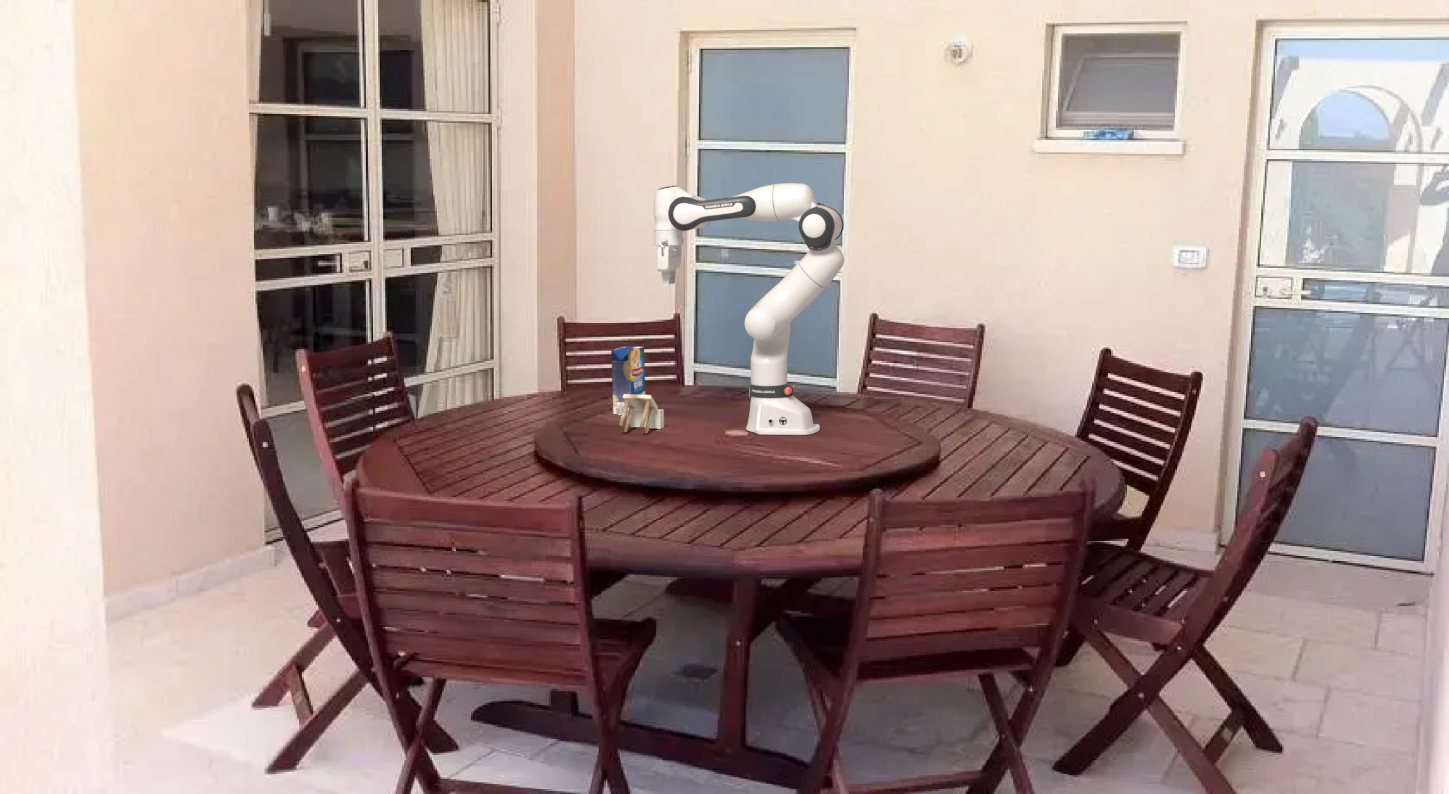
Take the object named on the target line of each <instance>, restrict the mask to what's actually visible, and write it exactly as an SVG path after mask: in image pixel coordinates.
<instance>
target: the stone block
mask: <svg viewBox="0 0 1449 794" xmlns="http://www.w3.org/2000/svg"><path fill="white" fill-rule="evenodd" d="M649 411H650V410H648V413H647V417H646V421H645V424H644V427H646V423H647V419H648V415H649ZM664 411H665V410H664V408H661V409H659V408H658V409H657V410H654V411H653V415H652V419H651V423H650V427H649V428H657V429H661V428H663V427H664V428H665V412H664ZM643 412H644V410H637V409H633V412H632V415H631V419H630V423H629V427H640V424H641V420H642V416H643Z"/></svg>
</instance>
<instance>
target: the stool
mask: <svg viewBox="0 0 1449 794" xmlns="http://www.w3.org/2000/svg"><path fill="white" fill-rule="evenodd" d="M623 399H624V400H625V404H624V408H623V412H622V416H621V418H620V420H619V424H618V426H619V427H624V428H623V430H622V431H623V433H624V432H627V433H628V431H629V427H630V419H631V415H632V412H633V409H637V410H644V412H643V416H642V420H641V424H640V427H644V424H645V421H646V417H647V413H648V410H650V411H649V415H648V419H647V423H646V427H645V430H644V432H643V434H645V433H648V434H649V431H650V430H649V427H650V423H651V419H652V415H653V411H654V410H657V409H659V407H658V406H659V405H658V404H657V402H656V400H655V399H654V397H653V395H651V394H645V395H635V394H624V395H623ZM628 407H629V411H628V415H627V418H625V416H626V412H627V408H628ZM624 423H625V424H624Z"/></svg>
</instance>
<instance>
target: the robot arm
mask: <svg viewBox="0 0 1449 794" xmlns="http://www.w3.org/2000/svg"><path fill="white" fill-rule="evenodd" d="M653 219H654V227H653V239H654V240H653V245H654V246H657V247H658V248H657V252H656V253H657V254H656V255H657V256H656V260H657V261H656V270H657V272H659V273H660V272H661V278H662V286H663V287H668V286H670V284H671V285H673V284H676V275H677V269H680V267H681V264H682V250H683V249H682V247H683V245H684V234H683V233H684V232H687V231H692V230H696V229H702V228H704V227H706V226H707V225H709V224H710V223H711V222H715V221H724V220H746V221H753V222H762V223H764V222H765V223H771V222H772V223H773V222H774V223H775V222H784V221H796V222H798V230H799V231H798V232H799V233H800V236H801V238H802V239H803V241H804V243H805V245H806V247H807V248H808V249H809V250H808V251H807V253H806V254H805V255H804V256H803V257H802V258H801V259H800V260H799V261H798V262H797V263H796V265H795V266H794V267H793V268H792V269H791V270H790V271H789V272H788V273H787V274H786V275H784V277H783V278H782V279H781V280H780V281H779V282H778V283H777V284H776V285H774V287H772V288H771V289H770V290H769V291H768V292H767V293H766V294H765V295H764V296H763V297H762V298H760V300H759V301H758V302H756V304H754V305H753V306H752V307H751V309H749V310H748V312H747V314H746V315H745V319H744V328H745V330H746V331H745V332H746V333H747V334H748V335H749V336H750V337H751V338H753V339H754V340H753V344H752V345H753V346H752V353H751V356H750V383H749V388H748V393H749V394H748V396H749V402H750V403H749V404H750V405H749V414H748V420H747V424H746V427H745V430H746V431H748V432H752V433H756V435H772V436H773V435H776V436H777V435H781V436H782V435H784V436H785V435H786V436H788V435H789V436H791V435H792V436H806V435H813V434H816V433H818V432H819V431H820V429H821V426H820V424H818V423H814V420H813V415H812V410H811V409H810V408H809V407H808V406H807V405H806V404H804V403H803V402H802V401H800V399H798V398H796V396H794V390H795V385H791V384H790V383H788V352H789V351H788V350H789V343H790V335H791V323H792V321H793V320H794V319H795V318H797V317H798V315H800V314H801V313H802V312H803V311H804V310H805V309H806V308H807V307H808V306H810V304H811V303H812V302H813V301H814V300H815V299H816V298H818V296H819V295H820V294H822V292H823V291H824V290H825V289H826V288H827V287H828V286H829V285H830V284H831V282H832V281H833V280H834V279H835V277H837V275H838V273H839V272H840V271H841V269H842V267H844V264H845V257H844V254H843V252H842V250H841V248H839V247H838V245H837V243H836V240H838V239H839V238H840V236H842V233H843V230H844V226H845V225H844V220H843V216H842V215H841V214H840V213H839V211H837V210H836V209H834V208H832V207H831V206H829V205H825V204H823V203H821V202H816V198H815V193H814V192H813V189H812V188H811V187H810V186H809V185H808V184H806V183H799V182H787V183H783V182H782V183H774V184H768V185H767V184H766V185H763V186H760V187H756V188H753V189H751V190H748V191H746V192H743V193H740V194H737V195H733V196H729V197H723V198H715V199H706V198H704V197H700V196H697V195H694V194H692V193H690V192H687V191H686V190H684V189H682V188H681V187H680V186H679V185H670V186H669V185H668V186H664V187H660V188H658V189H657V190H656V191H655V194H654V199H653Z"/></svg>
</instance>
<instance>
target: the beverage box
mask: <svg viewBox="0 0 1449 794" xmlns="http://www.w3.org/2000/svg"><path fill="white" fill-rule="evenodd" d="M610 351H611V354H610V355H611V359H610V360H611V386H612V415H613V414H618V415H622V412H623V408H624V404H625V400H624V399H623V395H624V394H635V395H646V376H645V375H646V374H645V373H646V372H645V370H646V367H645V365H646V364H645V363H646V362H645V346H638V345H637V346H635V345H634V346H633V345H632V346H631V345H627V346H626V345H624V346H622V347H617V348H614V349H611V350H610ZM628 411H629V407H628V408H627V412H626V415H628Z"/></svg>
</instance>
